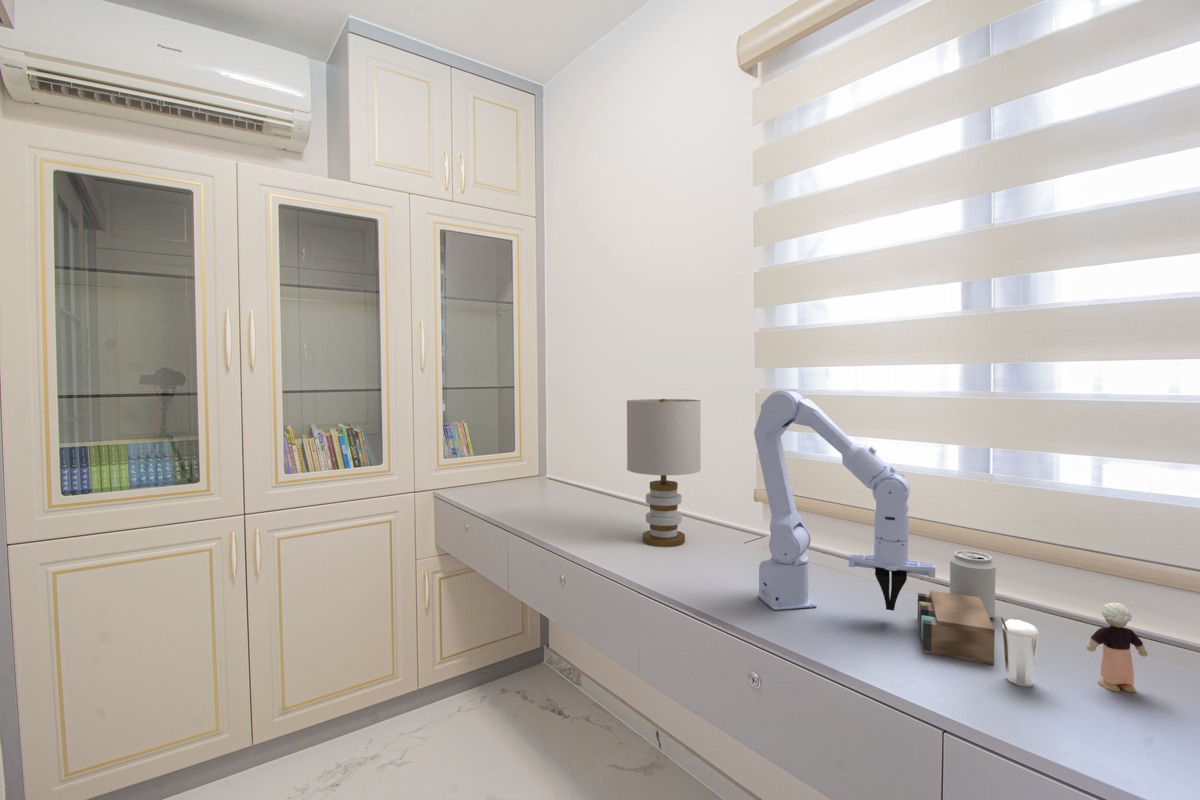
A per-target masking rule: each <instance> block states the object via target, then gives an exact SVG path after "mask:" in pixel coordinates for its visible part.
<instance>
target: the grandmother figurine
mask: <svg viewBox="0 0 1200 800" xmlns="http://www.w3.org/2000/svg"><path fill="white" fill-rule="evenodd" d="M1101 614H1102V617H1103V618H1104V620H1105V621H1106V623H1107V624H1108V625H1110V626H1106V627H1100V628H1098V629H1097V630H1096V631H1095V632H1094V633H1093V634H1092V635H1091V636H1090V640H1089V641H1088V644H1087V645H1086V649H1087V651H1089V652H1093V653H1094V652H1095V651H1096V649H1097V648H1098V647H1099V645H1102V659H1101V665H1100V676H1101V677H1102V678H1100V679H1099V680H1098V681H1097V682H1098V685H1100V686H1101V687H1103V688H1105V689H1106V690H1108V691H1112V692H1120V691H1121V689H1122V690H1123V691H1126V692H1130V693H1136V692H1137V690H1136V688H1135V685H1134V684H1135V678H1134V677H1135V671H1134V670H1135V669H1134V665H1133V660H1132V659H1133V656H1132V653H1131V645H1133V646H1134V648H1135V650H1137V652H1138V655H1139V656H1141V657H1145V658H1146V657H1147V656H1148V654H1149V653H1148V651H1147V650H1146V648H1145V645H1144V643H1143V640H1141V639H1140V637H1139V636H1138V634H1137V633H1135V632H1134V631H1133V630H1132V628H1131V629H1130V628H1128V627H1126V626H1127V624H1128V623H1129V622H1131V621H1132V617H1133V616H1132V614H1131V612H1130V610H1129V609H1128V608H1127V607H1126V606H1125V605H1124V604H1123V603H1119V602H1109V603H1105V604H1104V605H1103V606H1102V609H1101Z"/></svg>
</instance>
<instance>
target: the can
mask: <svg viewBox="0 0 1200 800" xmlns="http://www.w3.org/2000/svg"><path fill="white" fill-rule="evenodd" d="M953 554H954V555H953V556H952V557H951V558H950V559H949V560H950V561H949V593H952V594H959V595H966V596H974V597H980V599H981V601H982V603H983V605H984V608H985V610H986V612H987V614H988V616H989V618H990V619H991V618H993V617H995V616H996V615H995V613H996V574H997V573H996V572H997V571H996V569H997V568H996V566H997V565H996V564H995V562H993V560H992V559H993V557H992V556H991V555H990V554H987V553H984V552H979V551H975V550H964V549H963V550H961V549H960V550H956V551H954V553H953Z"/></svg>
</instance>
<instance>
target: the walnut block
mask: <svg viewBox="0 0 1200 800" xmlns="http://www.w3.org/2000/svg"><path fill="white" fill-rule="evenodd" d="M919 601H921V602H928V603H932V605H933V607H930V606H923V605H920V624H919ZM922 615H924V616H930V617H935V618H936V622H935V621H928V620H923V639H922V635H921V617H922ZM917 622H918V628H919V635H920V641H921V647H922V652H923V653H925V654H932V655H937V656H938V655H939V656H943V657H949V658H955V659H961V660H965V661H972V662H976V663H982V664H988V665H995V640H996V639H995V638H996V637H995V636H996V635H995V632H996V631H995V628H994V625H993V623H992V621H991V618H989V616H988V614H987V612H986V610H985V608H984V605H983V603H982V601H981V599H980V597H974V596H966V595H959V594H952V593H950V592H943V591H936V590H929V594H927V593H921V592H920V593H919V592H918V593H917Z"/></svg>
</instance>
